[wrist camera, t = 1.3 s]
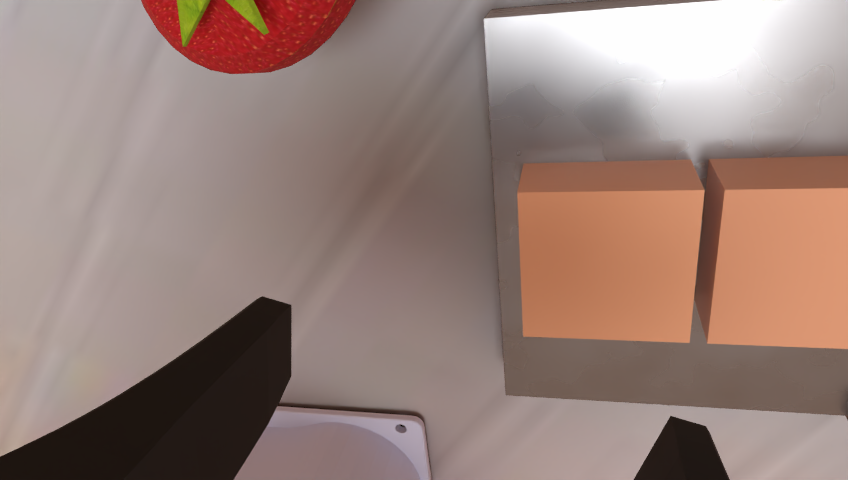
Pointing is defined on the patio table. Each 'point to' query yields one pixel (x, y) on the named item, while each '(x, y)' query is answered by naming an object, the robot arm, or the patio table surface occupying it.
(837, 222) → the tile
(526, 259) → the tile
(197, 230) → the patio table surface
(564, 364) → the grey plate
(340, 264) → the patio table surface
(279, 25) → the strawberry
